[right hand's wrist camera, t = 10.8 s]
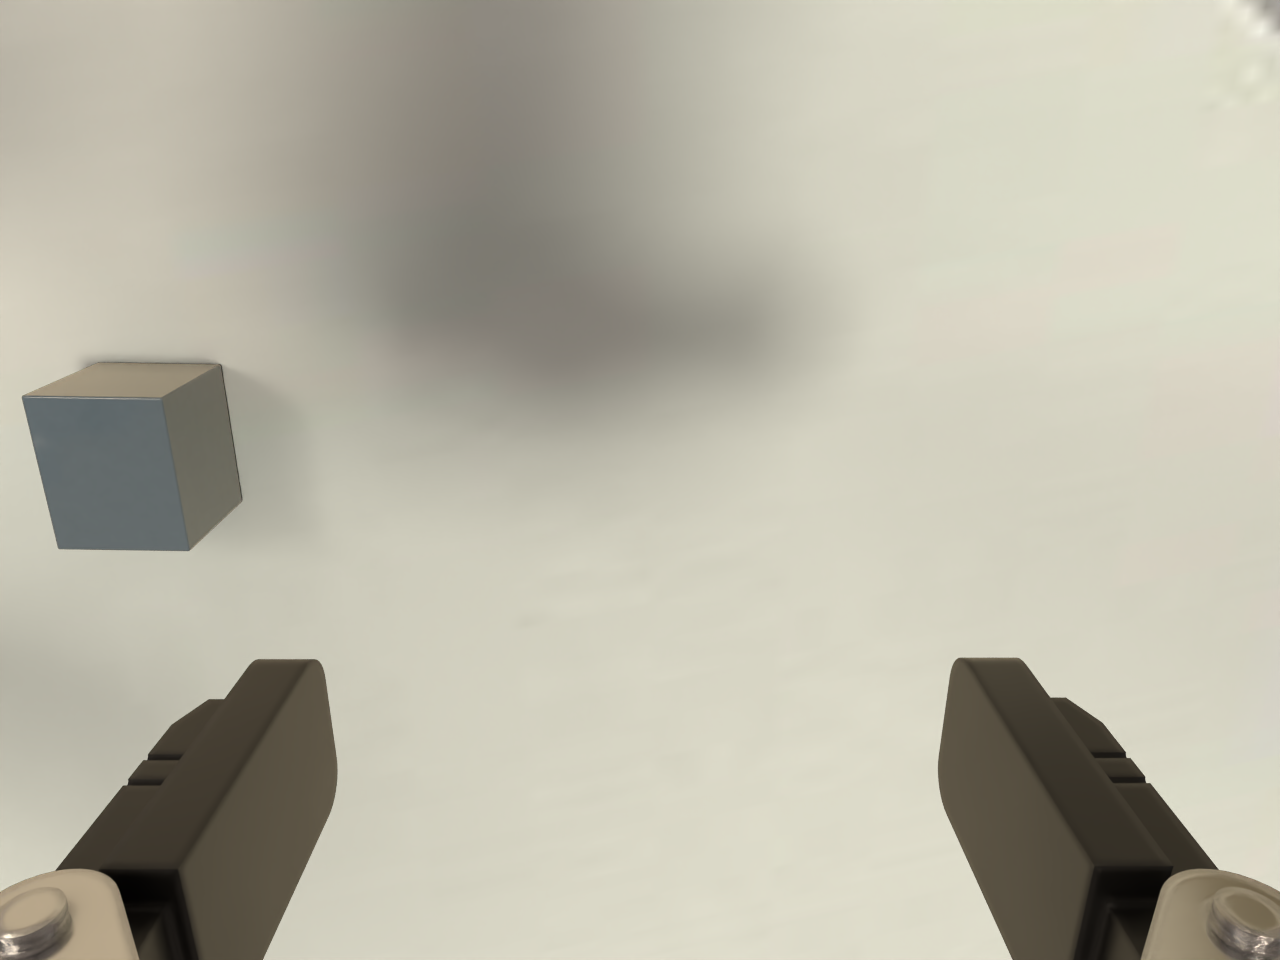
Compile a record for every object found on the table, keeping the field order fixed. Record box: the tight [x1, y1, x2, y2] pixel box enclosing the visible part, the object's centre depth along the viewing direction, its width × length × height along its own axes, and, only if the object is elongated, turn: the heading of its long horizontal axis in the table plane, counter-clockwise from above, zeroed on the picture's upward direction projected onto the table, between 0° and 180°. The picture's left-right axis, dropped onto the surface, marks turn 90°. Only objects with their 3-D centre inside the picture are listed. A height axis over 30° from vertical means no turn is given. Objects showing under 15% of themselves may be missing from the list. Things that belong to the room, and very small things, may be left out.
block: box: [22, 363, 242, 551], centre depth 30 cm, size 4×5×4 cm
